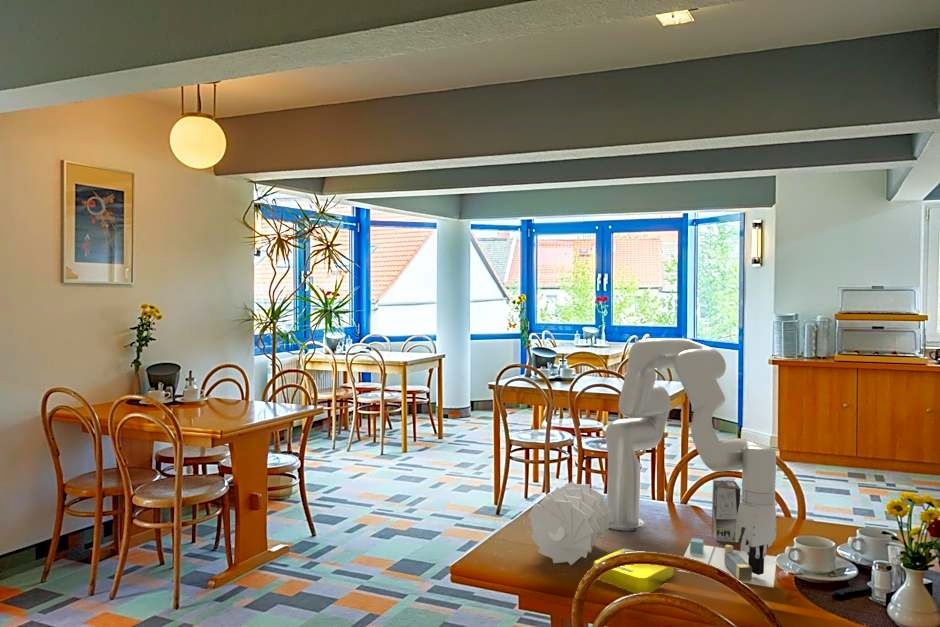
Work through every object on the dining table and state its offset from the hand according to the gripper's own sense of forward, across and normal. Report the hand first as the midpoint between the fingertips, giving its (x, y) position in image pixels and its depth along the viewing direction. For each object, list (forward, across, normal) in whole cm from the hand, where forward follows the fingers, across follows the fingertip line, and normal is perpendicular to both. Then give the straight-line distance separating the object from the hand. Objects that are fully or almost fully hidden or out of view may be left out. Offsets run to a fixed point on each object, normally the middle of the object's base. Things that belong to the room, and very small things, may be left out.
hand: (755, 572), depth 178 cm
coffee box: (+2, -19, -24) cm, 30 cm away
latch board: (+2, -2, -9) cm, 10 cm away
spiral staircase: (+2, +27, -37) cm, 46 cm away
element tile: (+3, +25, -16) cm, 30 cm away
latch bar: (+1, +2, -4) cm, 4 cm away
